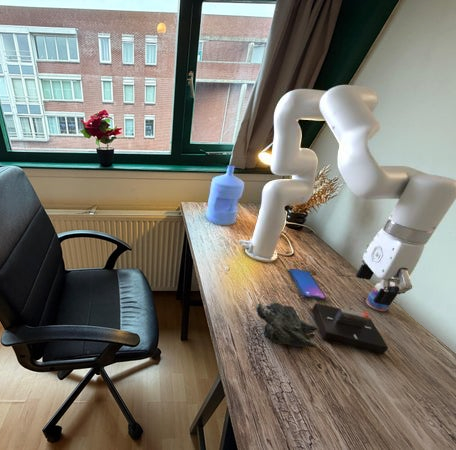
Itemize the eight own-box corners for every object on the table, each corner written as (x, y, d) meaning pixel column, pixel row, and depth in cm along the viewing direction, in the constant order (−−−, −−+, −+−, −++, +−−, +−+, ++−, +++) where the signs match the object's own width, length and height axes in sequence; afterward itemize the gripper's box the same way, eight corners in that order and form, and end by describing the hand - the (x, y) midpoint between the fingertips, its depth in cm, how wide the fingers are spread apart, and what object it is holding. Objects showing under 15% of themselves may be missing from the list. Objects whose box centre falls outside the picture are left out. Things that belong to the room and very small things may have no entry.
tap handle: (336, 322, 68) (342, 311, 66) (334, 317, 69) (340, 306, 67) (363, 328, 67) (370, 317, 65) (360, 324, 68) (367, 313, 66)
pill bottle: (361, 299, 81) (375, 276, 77) (375, 298, 82) (390, 276, 77) (375, 312, 76) (391, 288, 72) (390, 311, 77) (407, 288, 72)
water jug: (199, 214, 132) (208, 163, 119) (222, 211, 138) (233, 161, 125) (217, 228, 120) (229, 171, 107) (242, 223, 126) (255, 169, 113)
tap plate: (322, 339, 66) (327, 331, 65) (311, 309, 76) (315, 302, 74) (382, 355, 63) (388, 347, 62) (363, 322, 73) (368, 314, 71)
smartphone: (308, 270, 92) (327, 299, 79) (308, 272, 92) (326, 301, 79) (288, 268, 93) (304, 295, 79) (287, 270, 93) (303, 297, 80)
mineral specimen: (274, 348, 57) (284, 306, 58) (241, 327, 69) (250, 293, 70) (322, 359, 61) (331, 319, 62) (282, 338, 73) (290, 304, 74)
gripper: (368, 213, 63) (341, 267, 71) (410, 247, 48) (370, 310, 56) (403, 218, 61) (371, 273, 69) (457, 255, 46) (409, 319, 54)
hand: (371, 289), depth 62 cm, fingers open, 9 cm apart
